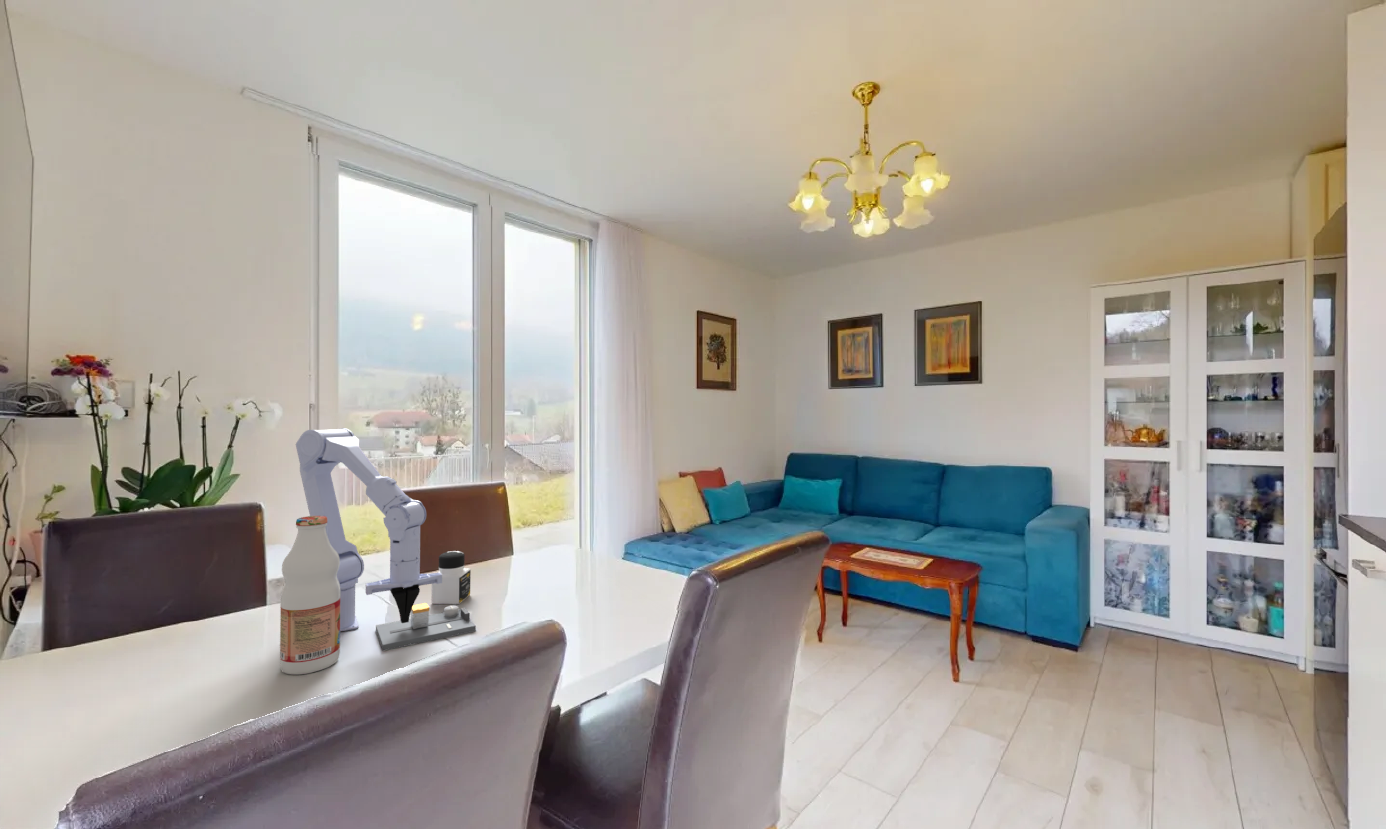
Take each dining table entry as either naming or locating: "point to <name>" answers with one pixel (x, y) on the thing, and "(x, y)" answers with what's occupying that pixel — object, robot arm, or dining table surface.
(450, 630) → the console board
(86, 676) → the dining table surface
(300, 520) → the fruit juice
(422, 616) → the fader tab
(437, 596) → the medicine bottle
